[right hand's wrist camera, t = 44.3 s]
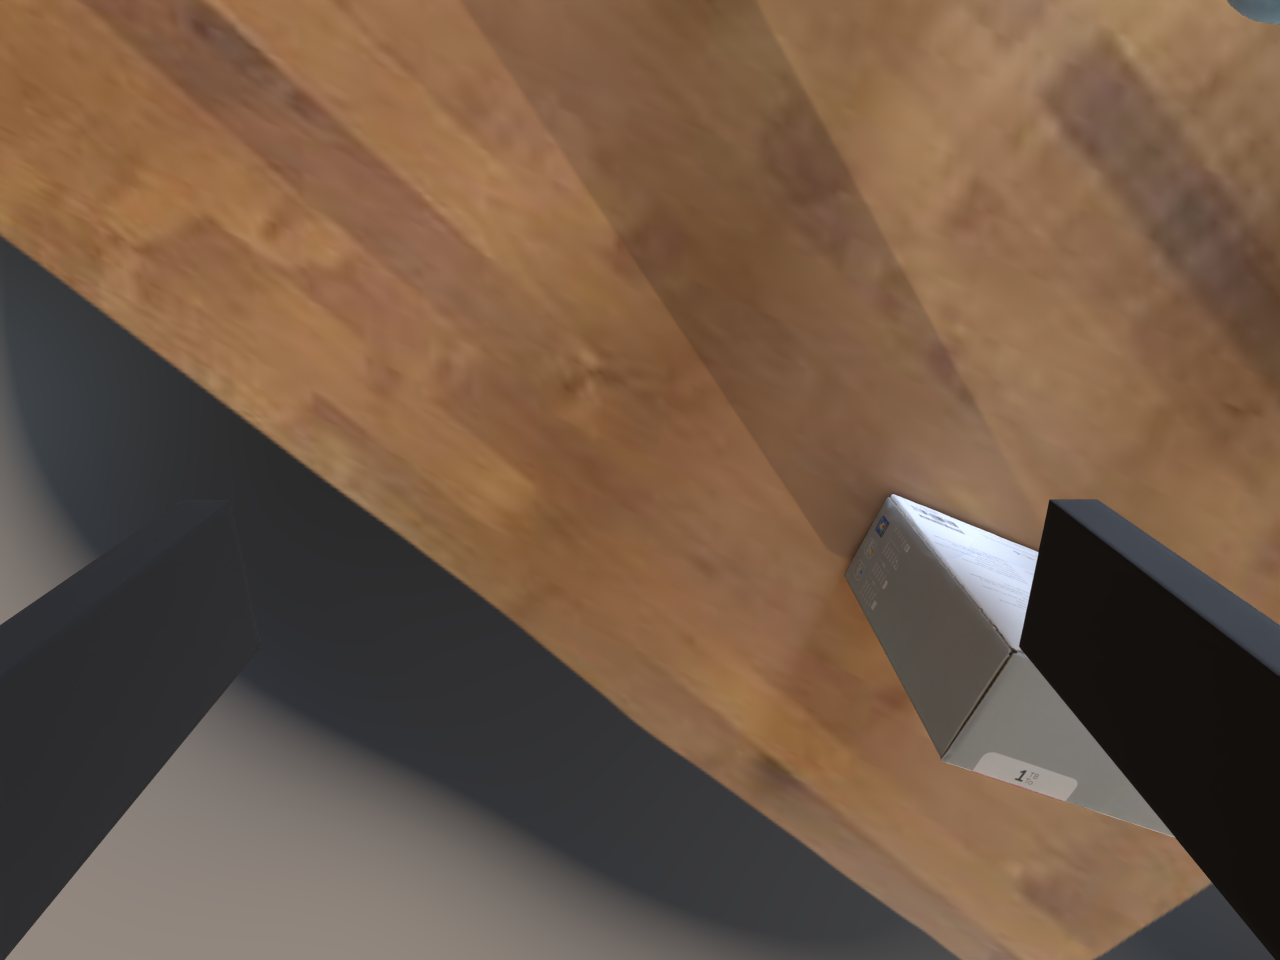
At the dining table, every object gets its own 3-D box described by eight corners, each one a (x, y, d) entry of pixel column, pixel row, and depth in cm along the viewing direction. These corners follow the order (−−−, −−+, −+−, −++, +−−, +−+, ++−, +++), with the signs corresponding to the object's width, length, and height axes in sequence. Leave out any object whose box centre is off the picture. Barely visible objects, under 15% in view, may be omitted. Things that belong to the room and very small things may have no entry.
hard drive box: (839, 576, 58) (933, 760, 40) (888, 489, 56) (1012, 643, 37) (1015, 641, 60) (1182, 845, 42) (1069, 560, 58) (1274, 739, 39)
